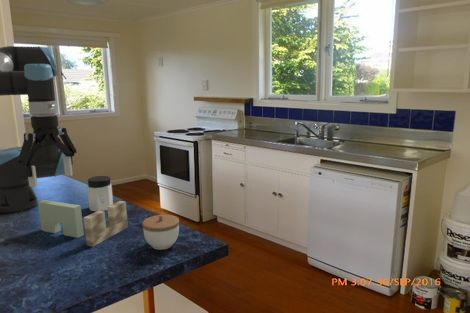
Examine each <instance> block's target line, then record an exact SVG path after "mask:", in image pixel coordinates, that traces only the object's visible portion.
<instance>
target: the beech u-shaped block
mask: <svg viewBox="0 0 470 313" xmlns="http://www.w3.org/2000/svg"><path fill="white" fill-rule="evenodd" d="M107 209H108V210H107V216H108V218H107V219H108V220H107V221H108V224H107V223H106V222H107V221H106V214H105V213H106V212H105V211H97V212H96V211H93V213H91V214H88V215H86V216H84V217H83V227H84V235H85V243H86V246H88V247H92V248H94V247H95V246H97V245H98V244H100V243H102V242H104V241H106V240H108V239H109V238H111V237H113V236H114V235H115V236H116V234H118V233H120V232H121V231H123V230H125V229H127V228H128V227H129V225H128V210H127V202H126V201H125V200H124V201H123V200H118V201H116V202H113V204H112V205H110V206H108V207H107Z"/></svg>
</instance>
